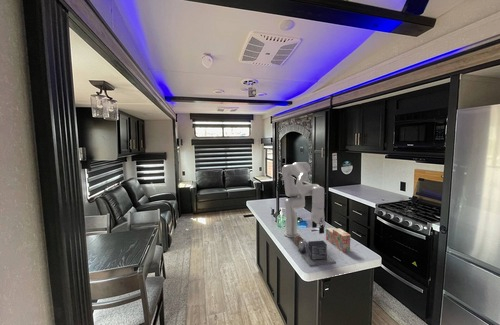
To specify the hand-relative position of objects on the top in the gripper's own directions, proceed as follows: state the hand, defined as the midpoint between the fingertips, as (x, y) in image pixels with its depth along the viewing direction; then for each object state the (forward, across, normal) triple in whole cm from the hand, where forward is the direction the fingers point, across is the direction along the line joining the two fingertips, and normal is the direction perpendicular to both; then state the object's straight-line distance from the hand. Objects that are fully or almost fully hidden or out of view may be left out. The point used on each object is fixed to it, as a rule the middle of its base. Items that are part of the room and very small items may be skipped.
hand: (317, 230), depth 145 cm
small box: (+19, 0, 0) cm, 19 cm away
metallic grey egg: (+20, -12, -6) cm, 24 cm away
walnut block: (+20, -23, -4) cm, 31 cm away
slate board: (+20, 0, 0) cm, 20 cm away
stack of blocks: (+21, -15, +24) cm, 35 cm away
